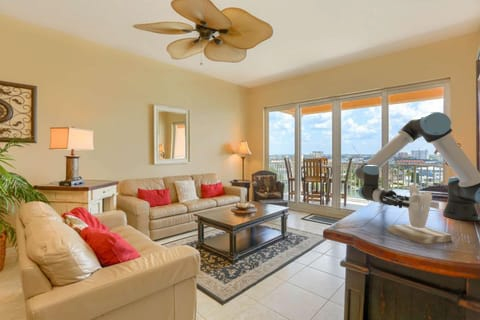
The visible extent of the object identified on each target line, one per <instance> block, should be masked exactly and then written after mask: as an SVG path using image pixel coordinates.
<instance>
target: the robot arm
mask: <svg viewBox="0 0 480 320" xmlns="http://www.w3.org/2000/svg"><path fill="white" fill-rule="evenodd" d="M451 124H452V121H451V119H450V117H449V116H448V115H447V114H445V113H444V112H440V111H435V112H434V111H433V112H426V114H425V113H424V114H421V115H418V116H415V117H413V118H411V120H409V121H408V122H407V123H405V125H404V126H403V127H401V129H399V130H398V132H397V134H396V135H395V136H394V137H393V138H392V139H391V140H389V142H387V143H386V144H385V145H384V146H383V147H382V148H380V150H378V151H377V152H376V153H375V154H373V156H372V157H371V158H369V159H368V160H367V161H366V162H364V164H363V165H362V166H359V167H357V168H355V170H354V175H355V177H356V178H357V179H359V180H361V181H363V183H362V186H360V187H359V189H358V195H359V197H360V198H361V199H364V200H367V201H370V202H375V203H379V205H386V206H393V207H398V209H403V208H406V209H407V208H410V209H414V210H418V203H413V202H408V201H409V198H410V195H409V196H408V195H401V194H397V193H396V191H394V190H391V189H387V188H386V189H385V188H380V187H379V186H380V185H379V183H380V168H382V167H383V166H384V165H385V164H387V163H388V161H390V160H391V159H393V157H395V156H396V155H397V154H398V153H399V152H401V151H402V150H403V149H404V148H405V147H406V146H408V144H409V143H413V142H415V141H416V140H418V139H420V138H423V139H424V140H425V141H426V142H427V144H431V145H433V147H434V148H435V150H436V151H437V152H438V153H439V155H440V156H441V157H442V159H443V160H444V162H445V163H446V164H447V166H448V167H449V168H450V169H451V170H452V172H453V174H454V175H455V176H450V177H448V180H447V203H446V204H445V207H444V209H443V211H442V213H443V214H442V215H443V216H444V217H447V218H451V219H453V220H460V221H468V222H475V221H476V222H477V221H480V214H479V212H478V209H477V206H476V204H478V205H480V172H479V170H478V169H477V167H476V166H475V165H474V163H473V162H472V161H471V159H470V157H469V156H467V153H465V152H464V150H463V148H462V147H461V146H460V144H459V143H458V142H457V141H456V140H455V138H454V137H453V135H452V134H453V129H452V128H451V127H452V125H451ZM425 205H426V204H425ZM430 208H432V209H436V210H440V202H438V201H434V200H432V201H431V204H430Z"/></svg>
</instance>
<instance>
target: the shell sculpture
mask: <svg viewBox="0 0 480 320" xmlns="http://www.w3.org/2000/svg"><path fill="white" fill-rule="evenodd" d="M409 188H410V189H409V190H408V191H409V192H408V193H409V197H410V198H409V201H408V202H413V203H418V210H414V209H410V208H408V209H407V210H408V218H409V219H408V220H409V224H411V226H413V227H418V228H424V227H426V225H427V223H428V222H427V221H428V218H429V215H430V214H429V213H430V210H431V209H430V208H431V207H430V204H431V201H433V194H432V192H431V191H427V192H426V191H425V192H424V193H422V192H421V191H420V190H419V188H418V187H417V186H416V185H415V184H414V185H413V184H411V185H410V186H409ZM425 204H426V205H425Z"/></svg>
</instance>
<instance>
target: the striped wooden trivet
mask: <svg viewBox="0 0 480 320" xmlns="http://www.w3.org/2000/svg"><path fill="white" fill-rule="evenodd" d="M387 232H388V233H391V234H394V235H397V236H399V237H402V238H404V239H407V240H409V241H412V242H414V243H418V244H420V245H426V244H434V243H445V242H452V238H453V237H452V234H451V233H447V232H444V231H440V230H438V229H433V228H430V227H427V226H425V227H424V228H418V227H413V226H411V224H410V223H409V224H396V225H395V224H394V225H388V226H387Z"/></svg>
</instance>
